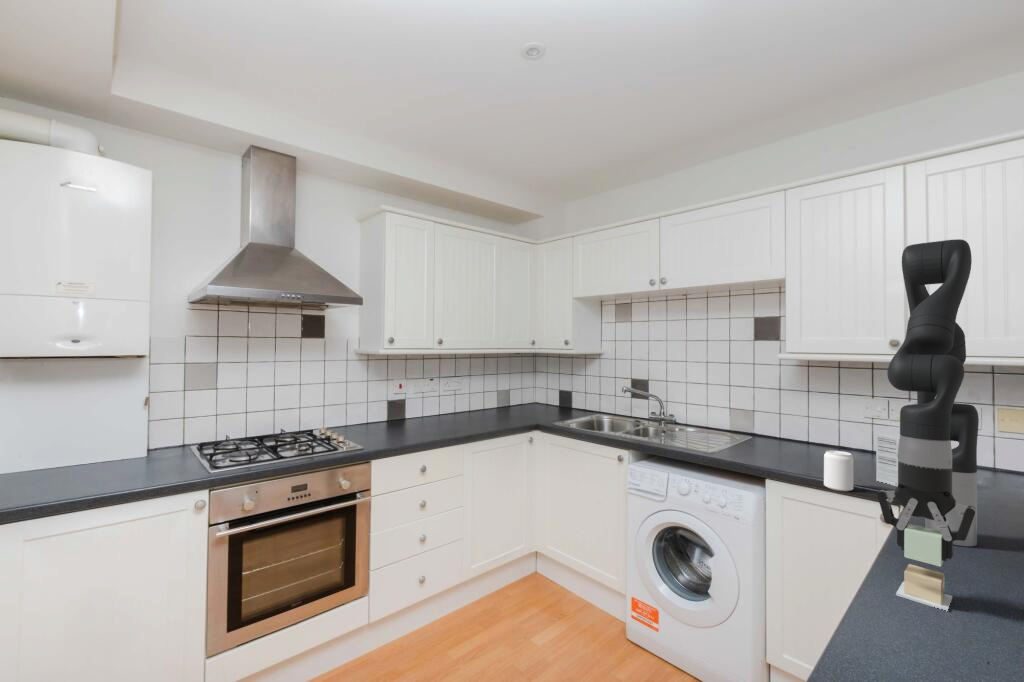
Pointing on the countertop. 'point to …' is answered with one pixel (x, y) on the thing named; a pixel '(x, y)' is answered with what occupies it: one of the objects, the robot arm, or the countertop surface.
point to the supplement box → (887, 458)
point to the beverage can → (838, 470)
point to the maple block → (924, 584)
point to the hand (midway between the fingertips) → (924, 554)
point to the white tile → (944, 604)
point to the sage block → (923, 544)
